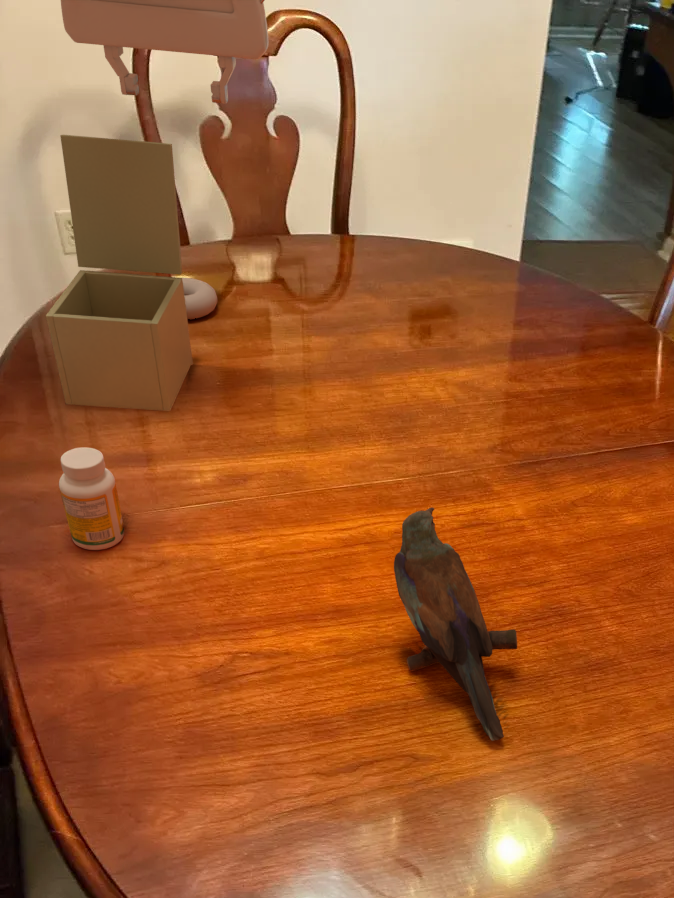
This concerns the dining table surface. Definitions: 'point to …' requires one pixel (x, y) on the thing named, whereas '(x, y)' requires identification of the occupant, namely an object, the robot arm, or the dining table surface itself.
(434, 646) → the bird figurine
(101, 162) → the lid
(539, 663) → the dining table surface
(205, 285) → the donut
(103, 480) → the supplement bottle
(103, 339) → the chest
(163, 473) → the dining table surface
